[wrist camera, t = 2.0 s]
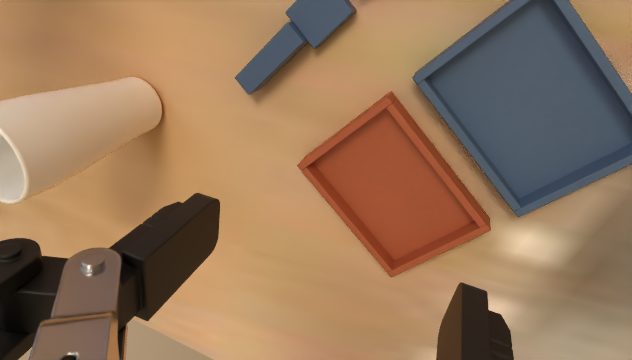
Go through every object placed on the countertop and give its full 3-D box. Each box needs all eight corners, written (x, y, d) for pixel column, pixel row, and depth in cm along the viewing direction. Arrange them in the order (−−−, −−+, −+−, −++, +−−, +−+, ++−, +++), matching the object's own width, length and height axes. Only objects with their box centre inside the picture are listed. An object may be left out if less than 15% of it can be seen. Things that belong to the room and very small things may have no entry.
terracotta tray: (304, 157, 36) (296, 165, 35) (391, 90, 31) (387, 96, 30) (393, 265, 38) (390, 277, 36) (490, 218, 33) (491, 230, 31)
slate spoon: (265, 96, 35) (255, 102, 33) (239, 65, 34) (227, 70, 33) (357, 10, 30) (350, 12, 28) (327, -28, 29) (319, -29, 27)
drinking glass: (117, 128, 42) (-36, 192, 29) (108, 61, 39) (-68, 101, 26) (173, 142, 40) (38, 216, 28) (169, 74, 37) (13, 122, 24)
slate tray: (414, 72, 30) (411, 78, 29) (545, -27, 25) (550, -28, 24) (515, 205, 32) (518, 217, 30) (655, 137, 27) (667, 147, 25)
